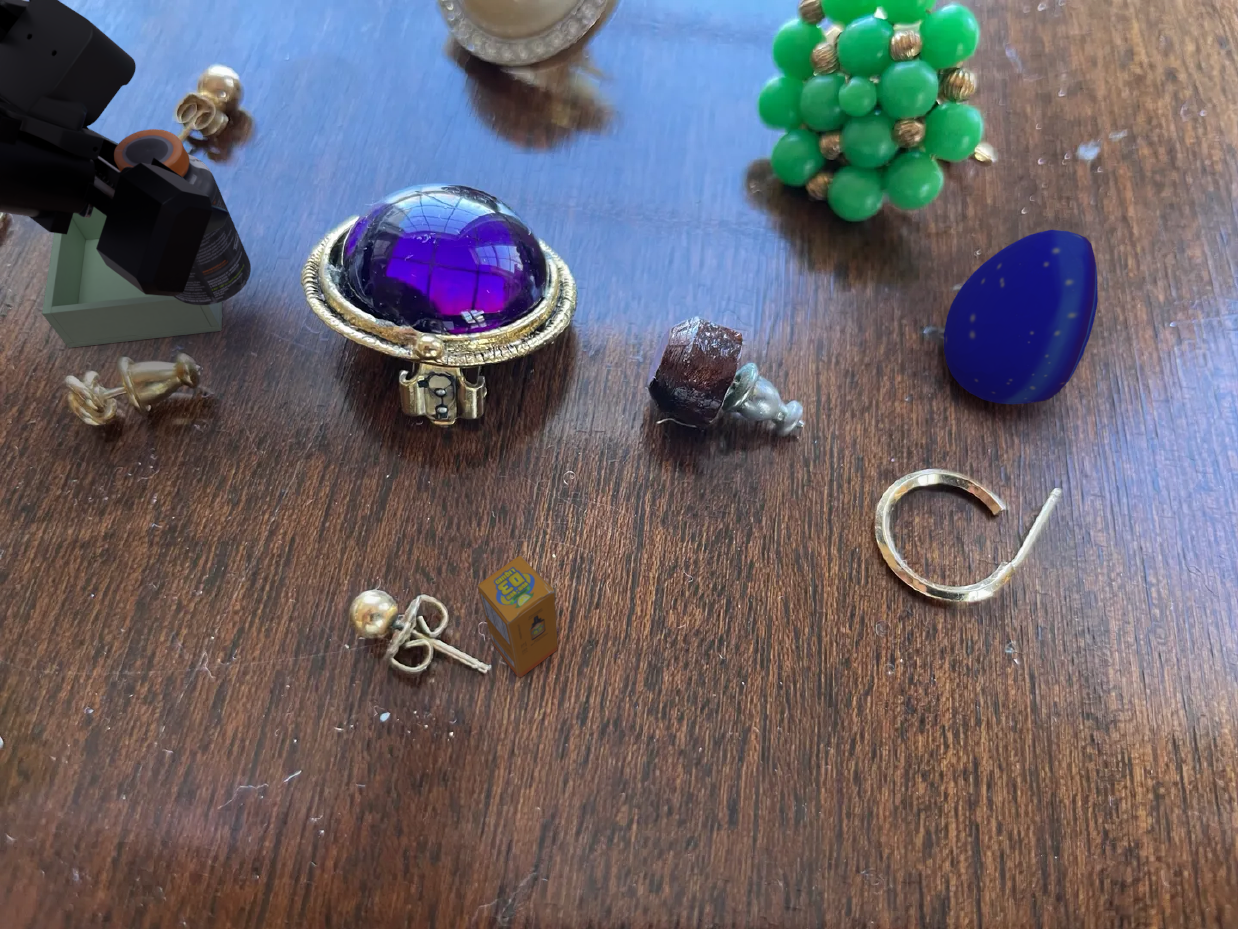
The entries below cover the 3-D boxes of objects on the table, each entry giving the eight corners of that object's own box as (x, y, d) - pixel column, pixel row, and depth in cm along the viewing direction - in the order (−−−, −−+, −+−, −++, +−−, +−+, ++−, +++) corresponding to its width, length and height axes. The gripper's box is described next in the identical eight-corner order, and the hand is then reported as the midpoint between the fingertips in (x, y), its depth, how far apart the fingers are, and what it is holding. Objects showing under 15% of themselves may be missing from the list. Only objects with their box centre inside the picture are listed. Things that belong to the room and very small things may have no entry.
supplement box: (527, 611, 59) (523, 549, 50) (559, 650, 58) (560, 594, 49) (487, 640, 58) (475, 583, 49) (518, 681, 57) (512, 629, 48)
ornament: (1046, 437, 69) (1160, 314, 56) (930, 423, 69) (1018, 297, 56) (1027, 327, 74) (1127, 192, 61) (920, 314, 74) (997, 176, 61)
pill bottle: (236, 235, 65) (182, 105, 55) (264, 290, 63) (212, 163, 53) (154, 262, 63) (83, 132, 54) (179, 320, 61) (110, 194, 51)
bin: (68, 348, 67) (41, 313, 64) (82, 240, 72) (57, 203, 69) (221, 331, 69) (204, 296, 65) (224, 227, 74) (207, 190, 71)
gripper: (106, 68, 39) (340, 145, 53) (-139, -94, 44) (137, 17, 58) (37, 291, 42) (274, 307, 57) (-184, 119, 47) (87, 174, 61)
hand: (192, 195), depth 58 cm, fingers closed on pill bottle, 6 cm apart
